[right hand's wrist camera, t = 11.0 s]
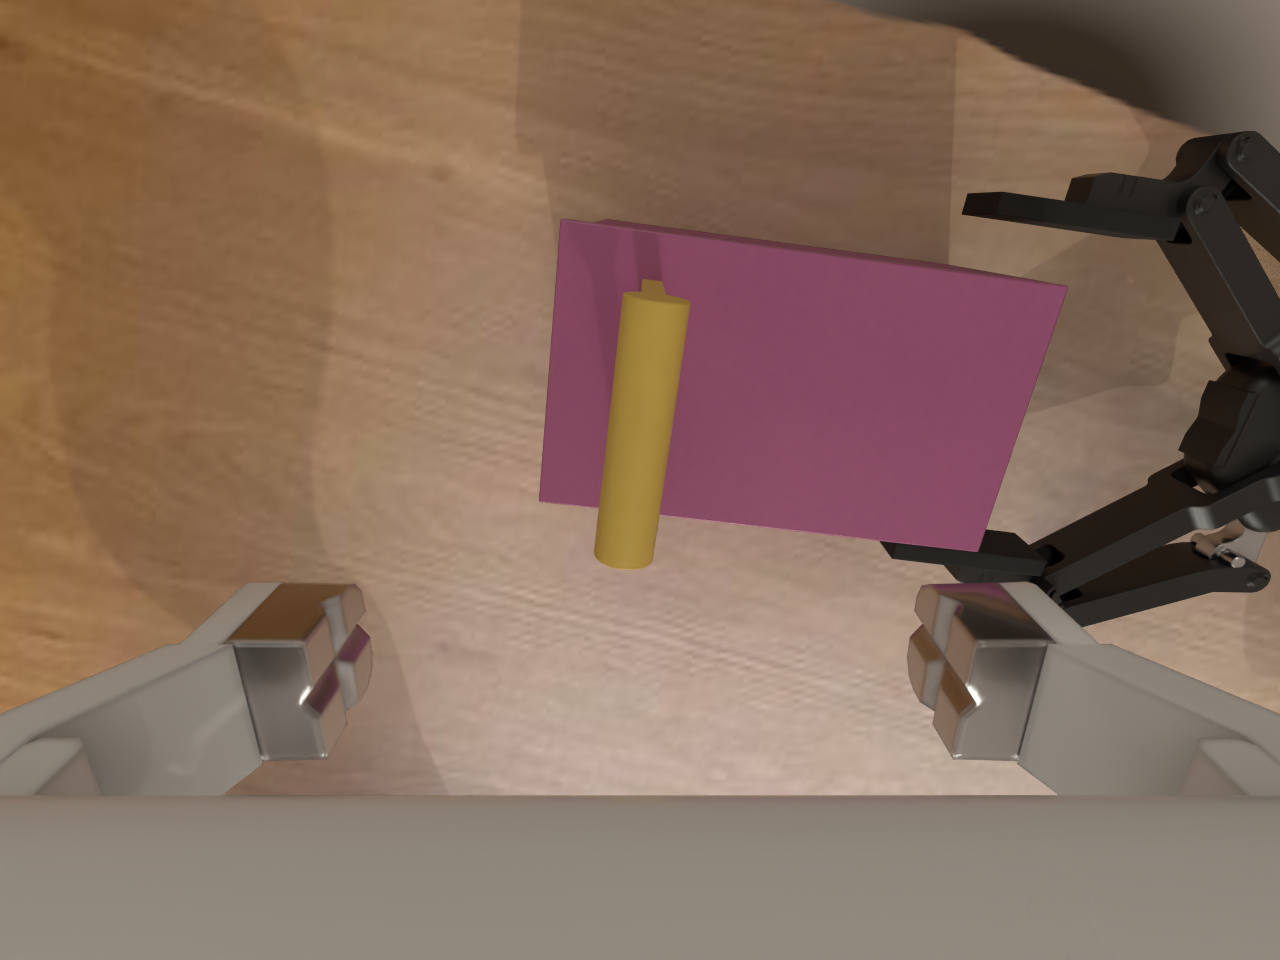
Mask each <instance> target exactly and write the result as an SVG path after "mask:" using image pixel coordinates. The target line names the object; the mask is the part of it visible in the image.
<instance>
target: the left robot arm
mask: <svg viewBox="0 0 1280 960" xmlns="http://www.w3.org/2000/svg"><path fill="white" fill-rule="evenodd" d="M962 215H969V216H976V217H983V218H990V219H997V220H1003V221H1010V222H1017V223H1024V224H1031V225H1038V226H1045V227H1051V228H1058V229H1065V230H1072V231H1079V232H1086V233H1093V234H1099V235H1106V236H1113V237H1120V238H1133V239H1150V240H1156V241H1157V243H1158V244H1159V246H1160V248H1161V249H1162V251H1163V253H1164V254H1165V256H1166V258H1167V259H1168V261H1169V263H1170V264H1171V266H1172V268H1173V269H1174V271H1175V273H1176V274H1177V276H1178V278H1179V279H1180V281H1181V283H1182V284H1183V286H1184V288H1185V289H1186V291H1187V293H1188V295H1189V296H1190V298H1191V300H1192V301H1193V303H1194V305H1195V306H1196V308H1197V310H1198V311H1199V313H1200V315H1201V316H1202V318H1203V320H1204V321H1205V323H1206V325H1207V326H1208V328H1209V330H1210V331H1211V333H1212V337H1210V338H1209V343H1210V345H1211V347H1212V348H1213V350H1214V352H1215V353H1216V355H1217V357H1218V358H1219V360H1220V362H1221V363H1222V365H1223V367H1224V368H1225V370H1226V371H1225V372H1224V373H1223V374H1222V375H1221V376H1220V377H1219V378H1218V379H1217V381H1211V380H1209V382H1208V384H1207V386H1206V388H1205V391H1204V393H1203V395H1202V397H1201V402H1200V408H1199V414H1198V417H1197V419H1196V420H1195V421H1194V423H1193V424H1192V425H1191V427H1190V428H1189V430H1188V431H1187V432H1186V434H1185V436H1184V438H1183V440H1182V443H1181V445H1180V447H1179V449H1178V450H1179V451H1181V452H1183V453H1184V459H1182V460H1180V461H1178V462H1176V463H1174V464H1172V465H1170V466H1168V467H1166V468H1164V469H1162V470H1160V471H1158V472H1156V473H1154V474H1153V475H1151V476H1150V477H1149V478H1148V484H1147V485H1146V486H1145V487H1143V488H1141V489H1139V490H1137V491H1135V492H1133V493H1131V494H1129V495H1127V496H1125V497H1123V498H1121V499H1119V500H1117V501H1115V502H1113V503H1111V504H1109V505H1107V506H1105V507H1103V508H1101V509H1099V510H1097V511H1095V512H1093V513H1091V514H1089V515H1087V516H1085V517H1083V518H1082V519H1080V520H1078V521H1076V522H1074V523H1072V524H1070V525H1068V526H1066V527H1064V528H1062V529H1060V530H1058V531H1056V532H1054V533H1052V534H1050V535H1048V536H1046V537H1044V538H1042V539H1040V540H1038V541H1036V542H1034V543H1032V544H1030V545H1028V544H1027V543H1026V542H1024V541H1023V540H1022V539H1021V538H1020V537H1019V536H1018V535H1016V534H1015V533H1010V532H1002V531H994V530H985V533H984V536H983V539H982V542H981V545H980V548H979V551H978V552H973V551H964V550H956V549H947V548H938V547H930V546H921V545H912V544H903V543H895V542H886V541H880V543H881V544H882V545H883V547H884V548H885V550H886V551H887V552H888V554H889V555H890V556H891V558H892V559H899V560H907V561H916V562H924V563H932V564H941V565H944V566H945V567H946V568H947V570H948V571H949V572H950V573H951V574H952V575H953V577H954V578H955V579H956V580H958V581H959V582H961V583H1006V582H1029V583H1032V584H1036V585H1037V586H1038V587H1039V588H1040V589H1041V590H1042V591H1043V592H1044V593H1045V594H1047V595H1048V596H1049V597H1050V598H1051V599H1052V600H1053V601H1054V602H1055V603H1056V604H1057V605H1058V606H1059V607H1060V608H1062V609H1063V610H1064V611H1065V612H1066V613H1067V614H1068V615H1069V616H1070V617H1071V618H1072V619H1073V620H1074V621H1075V622H1077V623H1078V624H1079V625H1080V626H1081V627H1085V626H1089V625H1092V624H1096V623H1100V622H1103V621H1107V620H1111V619H1114V618H1118V617H1122V616H1125V615H1129V614H1133V613H1137V612H1140V611H1144V610H1148V609H1151V608H1155V607H1159V606H1162V605H1166V604H1170V603H1173V602H1177V601H1181V600H1185V599H1188V598H1192V597H1196V596H1199V595H1203V594H1207V593H1210V592H1257V591H1259V590H1262V589H1263V588H1264V587H1265V586H1267V584H1268V583H1269V581H1270V578H1271V575H1270V572H1269V571H1268V570H1267V569H1265V568H1263V567H1262V566H1260V565H1258V564H1256V560H1257V558H1258V555H1259V553H1260V550H1261V547H1262V545H1263V542H1264V540H1265V537H1266V535H1267V532H1273V531H1277V530H1280V299H1279V297H1278V295H1277V293H1276V291H1275V290H1274V288H1273V286H1272V284H1271V282H1270V281H1269V279H1268V277H1267V275H1266V273H1265V271H1264V270H1263V268H1262V266H1261V264H1260V262H1259V261H1258V259H1257V257H1256V255H1255V253H1254V251H1253V250H1252V248H1251V246H1250V244H1249V242H1248V241H1247V239H1246V237H1245V235H1244V233H1243V232H1242V230H1241V228H1240V226H1241V227H1242V228H1243V229H1244V230H1245V231H1246V232H1247V233H1248V234H1249V235H1251V236H1252V237H1253V238H1254V239H1255V240H1256V241H1257V242H1258V243H1259V244H1260V245H1261V246H1262V247H1264V248H1265V249H1266V250H1267V251H1268V252H1269V253H1270V254H1271V255H1272V256H1273V257H1274V258H1276V259H1277V260H1278V261H1279V262H1280V153H1279V152H1278V151H1277V150H1276V149H1275V148H1274V147H1273V146H1272V145H1271V144H1270V143H1269V142H1268V141H1267V140H1266V139H1265V138H1264V137H1263V136H1261V135H1260V134H1259V133H1257V132H1255V131H1244V132H1237V133H1230V134H1221V135H1214V136H1206V137H1198V138H1193V139H1191V140H1188V141H1187V142H1185V143H1184V144H1183V145H1182V146H1181V148H1180V149H1179V151H1178V153H1177V156H1176V167H1175V168H1174V169H1173V171H1172V172H1171V173H1170V174H1169V175H1168V176H1167V177H1166V178H1164V179H1163V180H1158V179H1151V178H1145V177H1137V176H1131V175H1125V174H1118V173H1098V174H1087V175H1083V176H1079V177H1075V178H1072V180H1071V183H1070V186H1069V189H1068V192H1067V195H1066V198H1065V201H1062V200H1055V199H1048V198H1041V197H1034V196H1028V195H1021V194H1014V193H1007V192H987V193H968V194H967V197H966V201H965V204H964V208H963V211H962ZM1239 225H1240V226H1239ZM1197 485H1199V486H1200V487H1201V488H1202V490H1203V491H1204V492H1205V493H1206V494H1205V493H1202V492H1200V491H1198V490H1196V489H1194V488H1193V487H1195V486H1197ZM1226 524H1227V525H1226ZM1224 525H1226V526H1225V527H1224V528H1223V529H1222V530H1221V531H1219V532H1216V533H1212V534H1208V535H1206V536H1205V535H1204V534H1202V533H1196V534H1194V535H1193V536H1192V537H1191V542H1181V543H1173V544H1168V545H1165V544H1167V543H1169V542H1171V541H1173V540H1175V539H1177V538H1179V537H1181V536H1183V535H1185V534H1187V533H1189V532H1191V531H1193V530H1196V529H1207V530H1210V529H1216V528H1219V527H1222V526H1224ZM1163 545H1164V546H1163Z"/></svg>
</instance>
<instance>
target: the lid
mask: <svg viewBox="0 0 1280 960" xmlns="http://www.w3.org/2000/svg"><path fill="white" fill-rule="evenodd" d="M1067 290H1068V287H1067V286H1065V285H1060V284H1054V283H1046V282H1038V281H1031V280H1023V279H1016V278H1008V277H1001V276H993V275H986V274H978V273H971V272H963V271H955V270H948V269H940V268H933V267H925V266H918V265H910V264H903V263H895V262H888V261H880V260H872V259H865V258H857V257H850V256H842V255H835V254H827V253H820V252H812V251H805V250H797V249H789V248H782V247H774V246H767V245H759V244H752V243H744V242H737V241H729V240H722V239H714V238H707V237H699V236H691V235H684V234H676V233H669V232H661V231H654V230H646V229H639V228H631V227H624V226H616V225H608V224H601V223H593V222H586V221H578V220H571V219H561V221H560V233H559V246H558V259H557V272H556V285H555V298H554V311H553V324H552V337H551V350H550V363H549V376H548V389H547V402H546V415H545V428H544V441H543V454H542V467H541V480H540V493H539V501H540V502H545V503H554V504H563V505H572V506H580V507H589V508H598V509H599V512H598V521H597V530H596V539H595V548H594V554H595V557H596V558H597V559H598V560H599V561H600V562H601V563H603V564H605V565H607V566H609V567H612V568H616V569H622V570H637V569H641V568H644V567H647V566H648V565H649V564H650V563H651V562H652V560H653V555H654V548H655V541H656V534H657V528H658V521H659V516H668V517H676V518H685V519H694V520H703V521H711V522H720V523H729V524H737V525H746V526H755V527H764V528H772V529H781V530H790V531H799V532H807V533H816V534H825V535H834V536H842V537H851V538H860V539H868V540H877V541H886V542H895V543H903V544H912V545H921V546H930V547H938V548H947V549H956V550H964V551H973V552H978V551H979V548H980V545H981V542H982V539H983V536H984V533H985V530H986V527H987V524H988V521H989V518H990V515H991V513H992V510H993V507H994V504H995V501H996V498H997V495H998V492H999V489H1000V486H1001V483H1002V480H1003V477H1004V474H1005V471H1006V469H1007V466H1008V463H1009V460H1010V457H1011V454H1012V451H1013V448H1014V445H1015V442H1016V439H1017V436H1018V433H1019V430H1020V427H1021V425H1022V422H1023V419H1024V416H1025V413H1026V410H1027V407H1028V404H1029V401H1030V398H1031V395H1032V392H1033V389H1034V386H1035V383H1036V381H1037V378H1038V375H1039V372H1040V369H1041V366H1042V363H1043V360H1044V357H1045V354H1046V351H1047V348H1048V345H1049V342H1050V339H1051V337H1052V334H1053V331H1054V328H1055V325H1056V322H1057V319H1058V316H1059V313H1060V310H1061V307H1062V304H1063V301H1064V298H1065V295H1066V293H1067Z"/></svg>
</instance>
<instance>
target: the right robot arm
mask: <svg viewBox="0 0 1280 960" xmlns="http://www.w3.org/2000/svg"><path fill="white" fill-rule="evenodd" d="M365 611H366V609H365V605H364V600H363V595H362V591H361V590H360V588H359V587H358V586H357V585H356V584H341V583H285V582H256V583H247V584H244V585H243V586H242V587H241V588H240V589H239V590H238V591H237V592H236V593H235V594H234V595H233V596H232V597H230V598H229V599H228V600H227V601H226V602H225V603H224V604H223V605H222V606H221V607H220V608H219V609H218V610H216V611H215V612H214V613H213V614H212V615H211V616H210V617H209V618H208V619H207V620H206V621H205V622H204V623H202V624H201V625H200V626H199V627H198V628H197V629H196V630H195V631H194V632H193V633H192V634H191V635H190V636H188V637H187V638H186V639H185V640H184V641H183V642H182V643H181V644H168V645H165V646H163V647H160V648H158V649H156V650H153V651H151V652H148V653H146V654H144V655H141V656H139V657H136V658H134V659H132V660H129V661H127V662H124V663H122V664H120V665H117V666H115V667H112V668H110V669H107V670H105V671H103V672H100V673H98V674H95V675H93V676H91V677H88V678H86V679H83V680H81V681H79V682H76V683H74V684H71V685H69V686H67V687H64V688H62V689H59V690H57V691H54V692H52V693H50V694H47V695H45V696H42V697H40V698H38V699H35V700H33V701H30V702H28V703H26V704H23V705H21V706H18V707H16V708H13V709H11V710H9V711H6V712H4V713H1V714H0V960H1280V714H1278V713H1276V712H1273V711H1271V710H1268V709H1266V708H1264V707H1261V706H1259V705H1256V704H1254V703H1252V702H1249V701H1247V700H1244V699H1242V698H1240V697H1237V696H1235V695H1232V694H1230V693H1228V692H1225V691H1223V690H1220V689H1218V688H1216V687H1213V686H1211V685H1208V684H1206V683H1204V682H1201V681H1199V680H1196V679H1194V678H1192V677H1189V676H1187V675H1184V674H1182V673H1180V672H1177V671H1175V670H1172V669H1170V668H1168V667H1165V666H1163V665H1160V664H1158V663H1156V662H1153V661H1151V660H1148V659H1146V658H1144V657H1141V656H1139V655H1136V654H1134V653H1132V652H1129V651H1127V650H1124V649H1122V648H1119V647H1117V646H1115V645H1112V644H1099V643H1098V642H1097V641H1096V640H1095V639H1094V638H1093V637H1092V636H1091V635H1089V634H1088V633H1087V632H1086V631H1085V630H1084V629H1083V628H1082V627H1081V626H1080V625H1079V624H1078V623H1077V622H1075V621H1074V620H1073V619H1072V618H1071V617H1070V616H1069V615H1068V614H1067V613H1066V612H1065V611H1064V610H1063V609H1062V608H1060V607H1059V606H1058V605H1057V604H1056V603H1055V602H1054V601H1053V600H1052V599H1051V598H1050V597H1049V596H1048V595H1047V594H1045V593H1044V592H1043V591H1042V590H1041V589H1040V588H1039V587H1038V586H1037V585H1036V584H1032V583H1029V582H1006V583H958V584H928V585H922V586H921V588H920V590H919V592H918V594H917V598H916V604H915V609H914V611H915V613H916V614H917V616H918V617H919V619H920V621H921V622H922V625H921V626H920V627H919V628H918V629H917V630H916V631H915V632H914V633H913V634H912V635H911V636H910V639H909V647H908V654H907V661H908V672H909V678H910V681H911V684H912V687H913V690H914V692H915V694H916V696H917V698H918V699H919V701H920V702H921V703H922V704H924V705H926V706H927V707H929V708H930V709H932V710H933V711H935V713H934V719H933V726H934V727H935V729H936V731H937V733H938V734H939V736H940V738H941V740H942V741H943V743H944V745H945V746H946V748H947V750H948V752H949V753H950V755H951V757H952V758H953V759H963V760H1000V761H1018V763H1017V764H1018V765H1020V766H1021V767H1022V768H1024V769H1025V770H1026V771H1028V772H1029V773H1030V774H1032V775H1033V776H1034V777H1035V778H1037V779H1038V780H1039V781H1041V782H1042V783H1043V784H1045V785H1046V786H1047V787H1049V788H1050V789H1051V790H1053V791H1054V792H1055V793H1057V794H1058V795H768V796H570V795H568V796H567V795H222V794H224V793H225V792H226V791H228V790H229V789H230V788H232V787H233V786H234V785H236V784H237V783H238V782H239V781H241V780H242V779H243V778H245V777H246V776H247V775H249V774H250V773H251V772H253V771H254V770H255V769H257V768H258V767H259V766H261V765H262V761H279V760H315V759H328V757H329V755H330V753H331V752H332V750H333V748H334V746H335V745H336V743H337V741H338V740H339V738H340V736H341V734H342V733H343V731H344V729H345V727H346V726H347V719H346V713H345V711H347V710H348V709H350V708H351V707H353V706H354V705H356V704H358V703H359V702H360V701H361V699H362V697H363V696H364V694H365V692H366V690H367V688H368V684H369V680H370V676H371V672H372V645H371V639H370V636H369V635H368V634H367V633H366V632H365V631H364V630H363V629H362V628H361V627H360V626H359V625H358V622H359V621H360V619H361V617H362V616H363V614H364V613H365Z"/></svg>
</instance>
